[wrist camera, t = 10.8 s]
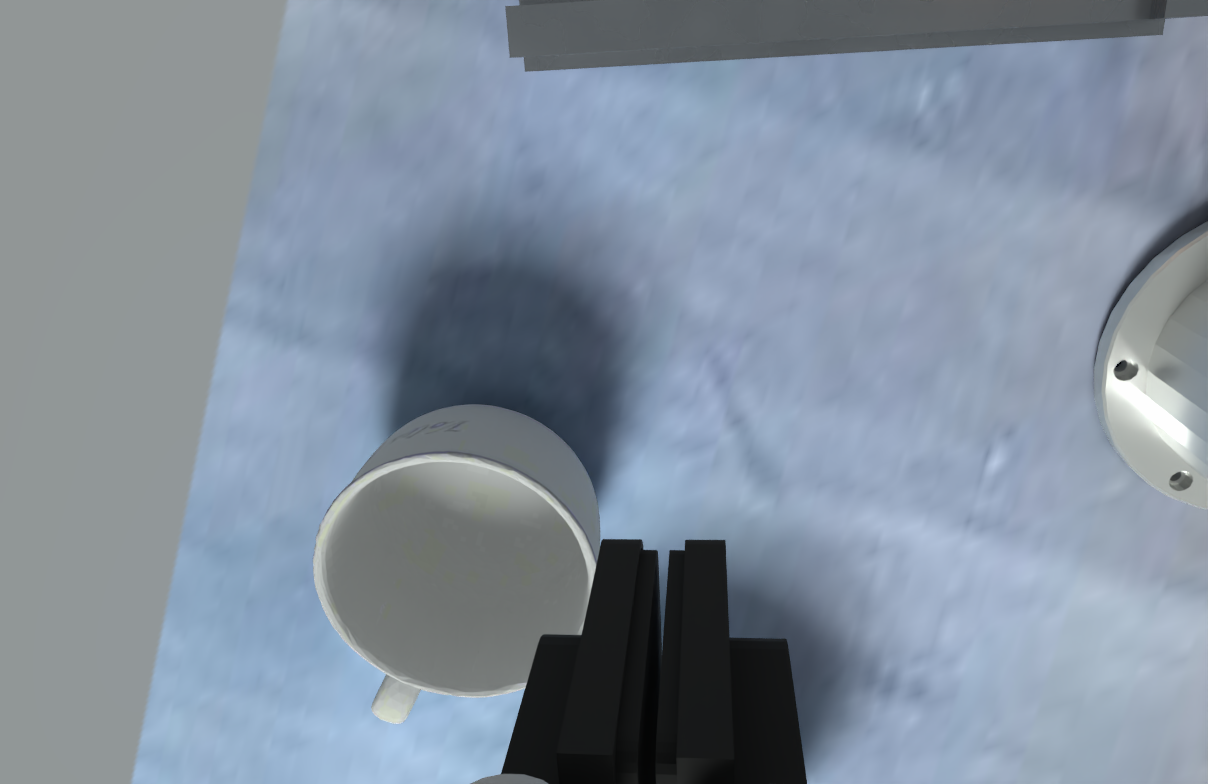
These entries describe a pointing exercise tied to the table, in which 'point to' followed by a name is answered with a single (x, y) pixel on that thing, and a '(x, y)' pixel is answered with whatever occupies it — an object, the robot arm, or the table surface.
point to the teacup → (459, 554)
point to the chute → (807, 27)
